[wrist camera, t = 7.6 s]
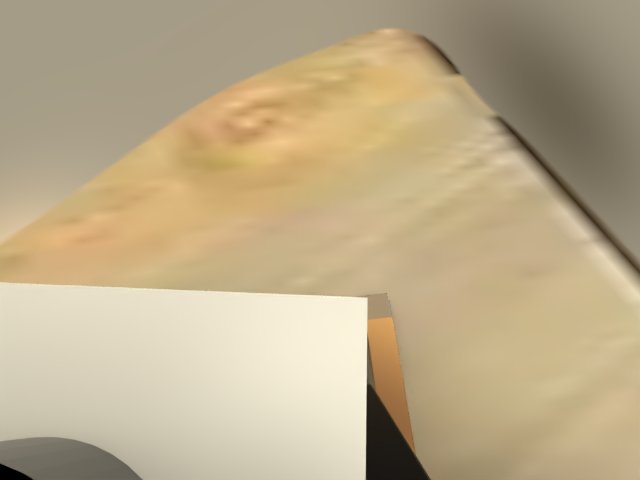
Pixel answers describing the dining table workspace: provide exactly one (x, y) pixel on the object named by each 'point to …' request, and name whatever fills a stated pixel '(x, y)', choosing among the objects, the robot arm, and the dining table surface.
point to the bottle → (180, 384)
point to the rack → (386, 362)
